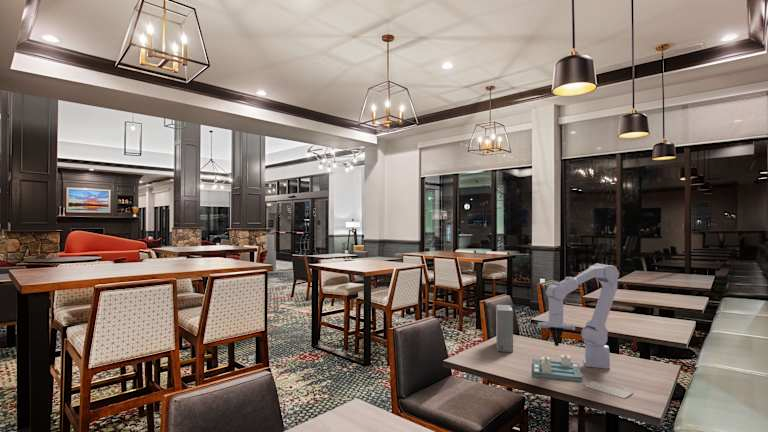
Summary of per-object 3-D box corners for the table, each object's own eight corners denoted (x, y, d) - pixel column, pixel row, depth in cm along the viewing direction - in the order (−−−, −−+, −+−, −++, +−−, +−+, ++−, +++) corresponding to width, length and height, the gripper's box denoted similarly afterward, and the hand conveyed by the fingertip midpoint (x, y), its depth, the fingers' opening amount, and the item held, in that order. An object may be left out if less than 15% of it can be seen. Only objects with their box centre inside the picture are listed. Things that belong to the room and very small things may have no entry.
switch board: (578, 367, 178) (578, 363, 178) (582, 381, 162) (582, 377, 162) (533, 362, 184) (533, 359, 184) (533, 376, 168) (533, 372, 168)
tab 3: (570, 364, 178) (569, 354, 178) (570, 367, 174) (570, 356, 174) (561, 363, 179) (561, 353, 179) (561, 366, 176) (561, 355, 176)
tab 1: (550, 366, 175) (550, 356, 175) (550, 369, 172) (550, 358, 172) (541, 366, 177) (541, 355, 177) (541, 368, 173) (541, 357, 173)
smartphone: (625, 398, 146) (583, 385, 158) (625, 400, 146) (583, 387, 158) (633, 393, 150) (592, 381, 162) (633, 394, 150) (592, 382, 162)
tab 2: (550, 371, 170) (550, 360, 170) (551, 374, 167) (551, 363, 167) (541, 370, 171) (541, 359, 171) (542, 373, 168) (541, 362, 168)
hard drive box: (513, 352, 198) (513, 311, 199) (497, 351, 200) (496, 310, 200) (511, 343, 213) (510, 304, 214) (496, 342, 215) (495, 304, 215)
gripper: (573, 312, 179) (573, 344, 179) (537, 310, 184) (538, 341, 183) (575, 316, 172) (576, 348, 172) (538, 314, 177) (538, 345, 177)
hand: (556, 345), depth 177 cm, fingers closed
